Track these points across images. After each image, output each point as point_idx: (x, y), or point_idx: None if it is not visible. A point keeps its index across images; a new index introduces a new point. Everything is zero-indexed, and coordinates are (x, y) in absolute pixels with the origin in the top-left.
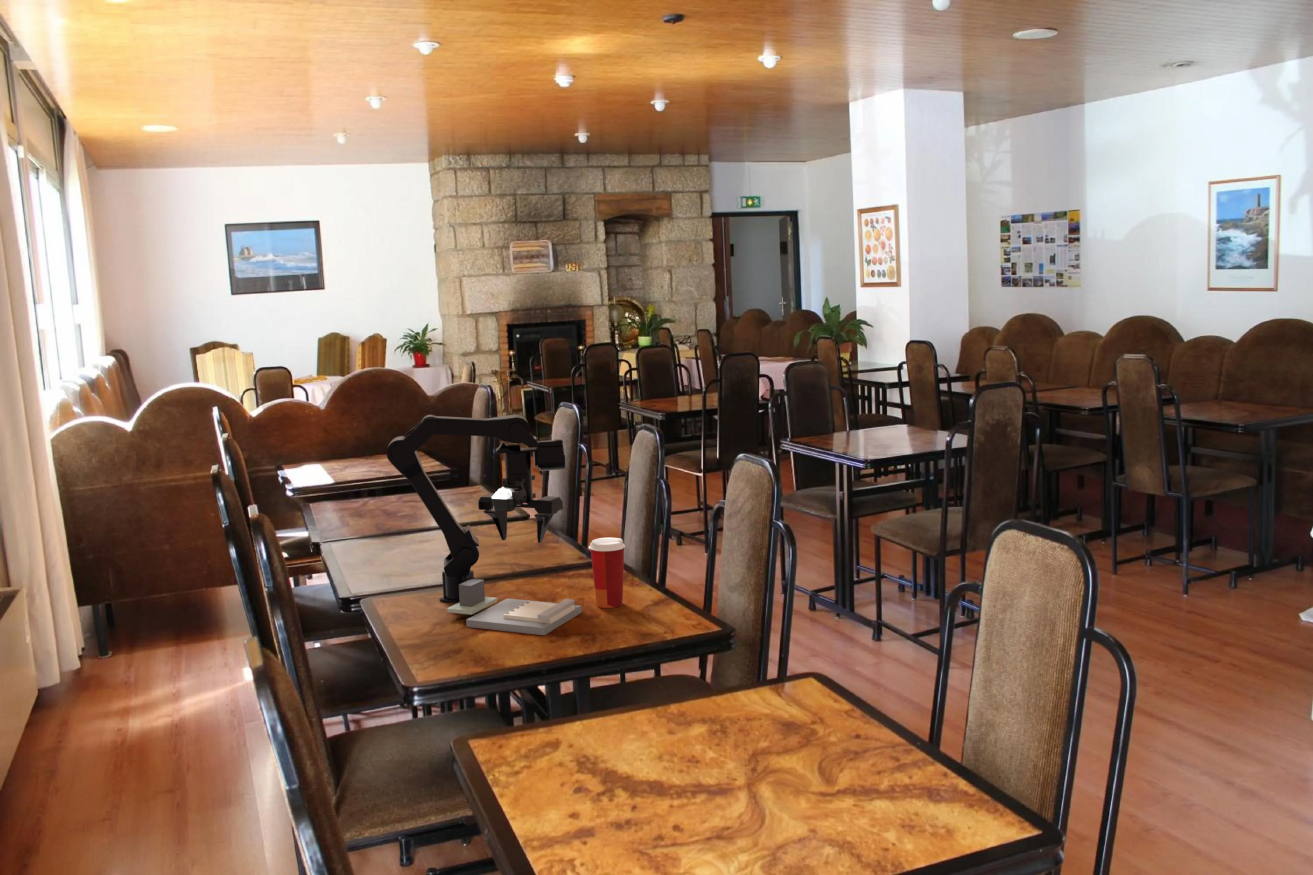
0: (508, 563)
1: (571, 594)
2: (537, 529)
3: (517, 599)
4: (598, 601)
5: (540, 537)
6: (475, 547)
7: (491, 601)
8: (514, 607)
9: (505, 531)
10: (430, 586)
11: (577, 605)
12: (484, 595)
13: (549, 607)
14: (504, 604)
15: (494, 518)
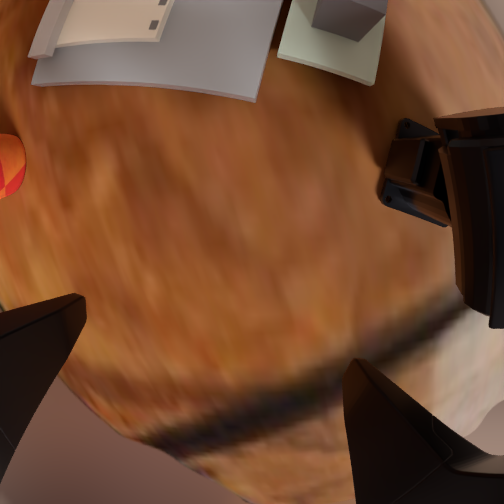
0: (344, 448)
1: (100, 239)
2: (14, 327)
3: (212, 89)
4: (10, 137)
5: (44, 303)
6: (490, 138)
7: (285, 24)
8: (197, 12)
9: (354, 418)
10: None
11: (37, 81)
12: (314, 19)
13: (86, 11)
14: (241, 34)
15: (474, 457)
